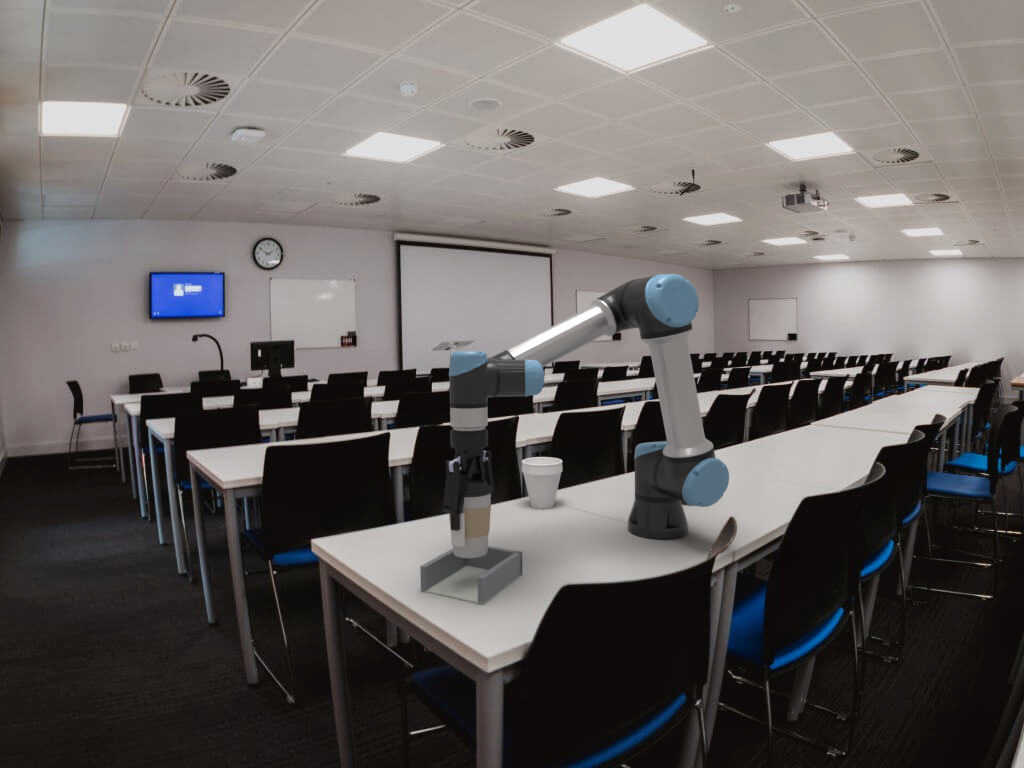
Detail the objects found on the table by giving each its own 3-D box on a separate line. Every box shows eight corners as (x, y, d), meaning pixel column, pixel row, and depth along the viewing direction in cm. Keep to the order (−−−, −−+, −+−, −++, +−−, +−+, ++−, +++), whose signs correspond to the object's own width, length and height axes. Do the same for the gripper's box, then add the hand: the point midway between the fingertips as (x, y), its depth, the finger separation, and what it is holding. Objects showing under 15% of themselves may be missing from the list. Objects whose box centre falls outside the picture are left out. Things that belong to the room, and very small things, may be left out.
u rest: (522, 575, 128) (522, 551, 128) (483, 604, 114) (483, 578, 114) (464, 564, 135) (464, 542, 135) (420, 590, 121) (420, 566, 120)
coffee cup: (448, 545, 128) (447, 475, 127) (491, 544, 128) (490, 474, 127) (447, 561, 119) (446, 485, 118) (493, 559, 119) (493, 483, 118)
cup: (546, 498, 191) (546, 455, 190) (571, 506, 181) (571, 461, 180) (514, 504, 184) (513, 459, 183) (537, 513, 174) (537, 466, 173)
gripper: (480, 420, 133) (481, 522, 134) (421, 433, 114) (424, 552, 116) (510, 422, 129) (511, 526, 131) (455, 436, 111) (457, 558, 112)
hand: (470, 538), depth 123 cm, fingers closed on coffee cup, 8 cm apart
